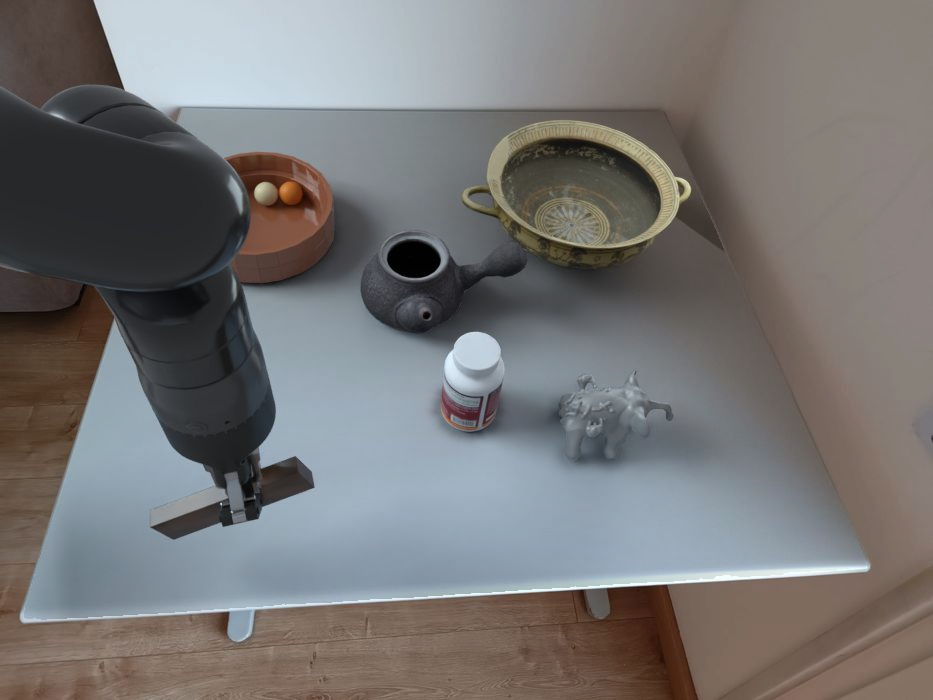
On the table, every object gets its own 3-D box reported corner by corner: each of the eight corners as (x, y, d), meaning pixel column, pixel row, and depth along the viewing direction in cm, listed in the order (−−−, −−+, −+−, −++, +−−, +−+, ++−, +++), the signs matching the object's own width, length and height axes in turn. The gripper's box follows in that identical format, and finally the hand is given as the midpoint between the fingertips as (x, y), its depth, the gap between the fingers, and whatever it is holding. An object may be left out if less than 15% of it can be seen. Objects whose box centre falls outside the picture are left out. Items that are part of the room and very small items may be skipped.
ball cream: (261, 213, 92) (282, 204, 92) (249, 193, 90) (270, 184, 90) (262, 203, 95) (282, 194, 94) (250, 183, 93) (271, 174, 93)
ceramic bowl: (647, 174, 105) (668, 116, 97) (701, 297, 91) (731, 242, 83) (445, 179, 100) (450, 119, 92) (470, 310, 87) (478, 253, 79)
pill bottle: (480, 378, 81) (492, 318, 72) (505, 422, 78) (520, 364, 69) (430, 396, 79) (436, 335, 70) (453, 441, 76) (462, 384, 67)
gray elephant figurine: (538, 409, 79) (551, 370, 73) (631, 381, 83) (651, 342, 76) (575, 482, 74) (592, 446, 68) (672, 449, 78) (697, 412, 72)
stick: (312, 471, 62) (295, 455, 59) (315, 487, 61) (298, 472, 58) (172, 523, 62) (149, 509, 59) (173, 540, 61) (149, 527, 58)
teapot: (368, 363, 81) (366, 307, 73) (356, 263, 89) (353, 203, 81) (529, 349, 84) (544, 293, 76) (502, 254, 93) (513, 195, 85)
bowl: (193, 297, 84) (183, 265, 80) (183, 194, 94) (173, 160, 90) (347, 273, 88) (345, 241, 84) (321, 177, 98) (318, 144, 94)
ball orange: (294, 174, 92) (289, 193, 90) (309, 187, 94) (305, 206, 93) (276, 180, 93) (272, 199, 92) (292, 193, 95) (288, 212, 94)
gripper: (281, 461, 44) (307, 561, 58) (255, 296, 51) (283, 420, 65) (152, 488, 42) (210, 585, 56) (144, 313, 49) (197, 437, 63)
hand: (249, 496), depth 60 cm, fingers closed on stick, 1 cm apart
